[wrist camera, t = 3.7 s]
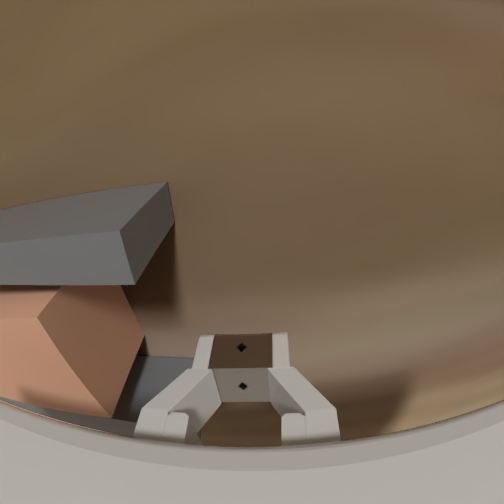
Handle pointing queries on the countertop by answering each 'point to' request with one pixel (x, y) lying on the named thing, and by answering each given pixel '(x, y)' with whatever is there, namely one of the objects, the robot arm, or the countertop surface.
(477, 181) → the countertop surface
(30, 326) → the block
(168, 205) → the channel
